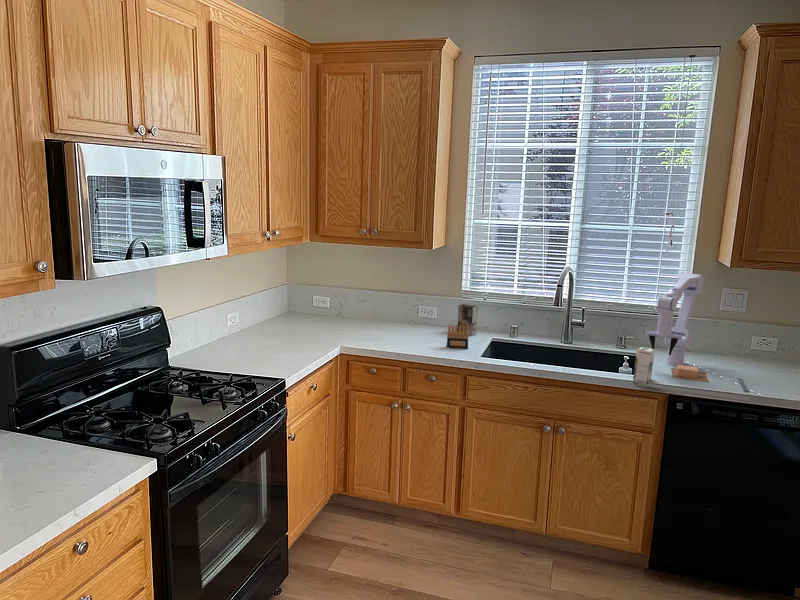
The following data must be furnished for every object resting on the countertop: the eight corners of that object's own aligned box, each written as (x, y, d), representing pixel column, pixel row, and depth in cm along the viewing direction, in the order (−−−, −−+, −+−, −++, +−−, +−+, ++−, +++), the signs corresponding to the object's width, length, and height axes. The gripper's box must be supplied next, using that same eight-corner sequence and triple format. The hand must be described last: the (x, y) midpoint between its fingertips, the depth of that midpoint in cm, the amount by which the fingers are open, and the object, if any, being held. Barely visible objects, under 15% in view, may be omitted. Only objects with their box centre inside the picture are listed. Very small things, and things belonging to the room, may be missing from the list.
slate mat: (706, 375, 259) (706, 374, 259) (741, 379, 254) (742, 378, 253) (710, 386, 242) (710, 385, 242) (748, 392, 237) (748, 391, 237)
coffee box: (476, 334, 321) (478, 305, 318) (471, 336, 316) (473, 307, 313) (461, 331, 326) (463, 303, 323) (456, 333, 321) (458, 305, 318)
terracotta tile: (676, 371, 258) (677, 364, 257) (696, 373, 255) (697, 367, 255) (677, 375, 252) (677, 368, 251) (697, 378, 249) (698, 371, 248)
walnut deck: (670, 371, 263) (670, 367, 263) (705, 375, 258) (705, 372, 258) (672, 380, 249) (672, 377, 248) (708, 385, 243) (709, 382, 243)
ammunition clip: (446, 347, 291) (447, 324, 289) (446, 346, 293) (447, 323, 291) (467, 349, 290) (469, 325, 287) (467, 348, 291) (469, 324, 289)
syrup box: (636, 379, 250) (640, 346, 247) (651, 382, 246) (655, 349, 243) (632, 382, 245) (636, 348, 243) (647, 385, 242) (650, 351, 239)
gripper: (647, 323, 253) (643, 353, 255) (683, 327, 247) (680, 358, 250) (646, 320, 259) (643, 349, 261) (682, 324, 254) (679, 354, 256)
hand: (661, 353), depth 256 cm, fingers open, 6 cm apart
